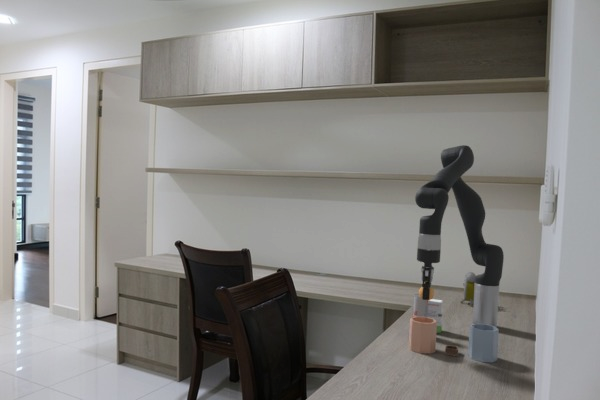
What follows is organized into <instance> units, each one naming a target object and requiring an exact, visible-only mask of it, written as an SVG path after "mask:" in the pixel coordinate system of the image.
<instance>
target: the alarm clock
mask: <svg viewBox="0 0 600 400" xmlns="http://www.w3.org/2000/svg"><path fill="white" fill-rule="evenodd" d="M476 276H477V275H476V274H475V273H474V272H473V271H468V272H466V273H465V275H464V281H463V287H464V288H463V298H462V299H461V300H460V304H462V303H464V302H465V301H466V302H469V303H470V306H471V307H473V306H474V287H475V277H476Z"/></svg>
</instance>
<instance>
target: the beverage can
mask: <svg viewBox="0 0 600 400" xmlns="http://www.w3.org/2000/svg"><path fill="white" fill-rule="evenodd" d="M427 314H428V301H425V300H423V299H421V298H420V296H419V293H415V294H414V295H413V314H412V317H415V316H418V317H427Z"/></svg>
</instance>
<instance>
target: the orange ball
mask: <svg viewBox="0 0 600 400" xmlns="http://www.w3.org/2000/svg"><path fill="white" fill-rule="evenodd" d="M418 294H419V296H420V298H421V299H422V295H423V287H422V286H421V287H420V288H419V290H418ZM434 297H435V291H434V289H433V287H431V288H430V294H429V300H431V299H434ZM425 301H428V300H425Z"/></svg>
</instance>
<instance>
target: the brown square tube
mask: <svg viewBox="0 0 600 400" xmlns="http://www.w3.org/2000/svg"><path fill="white" fill-rule="evenodd" d="M444 351H445V352H444V353H445V354H444V355H446V354H449V355H448V356H453V355H455V356H454V357H459V346H457V345H451V344H445V350H444Z"/></svg>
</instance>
